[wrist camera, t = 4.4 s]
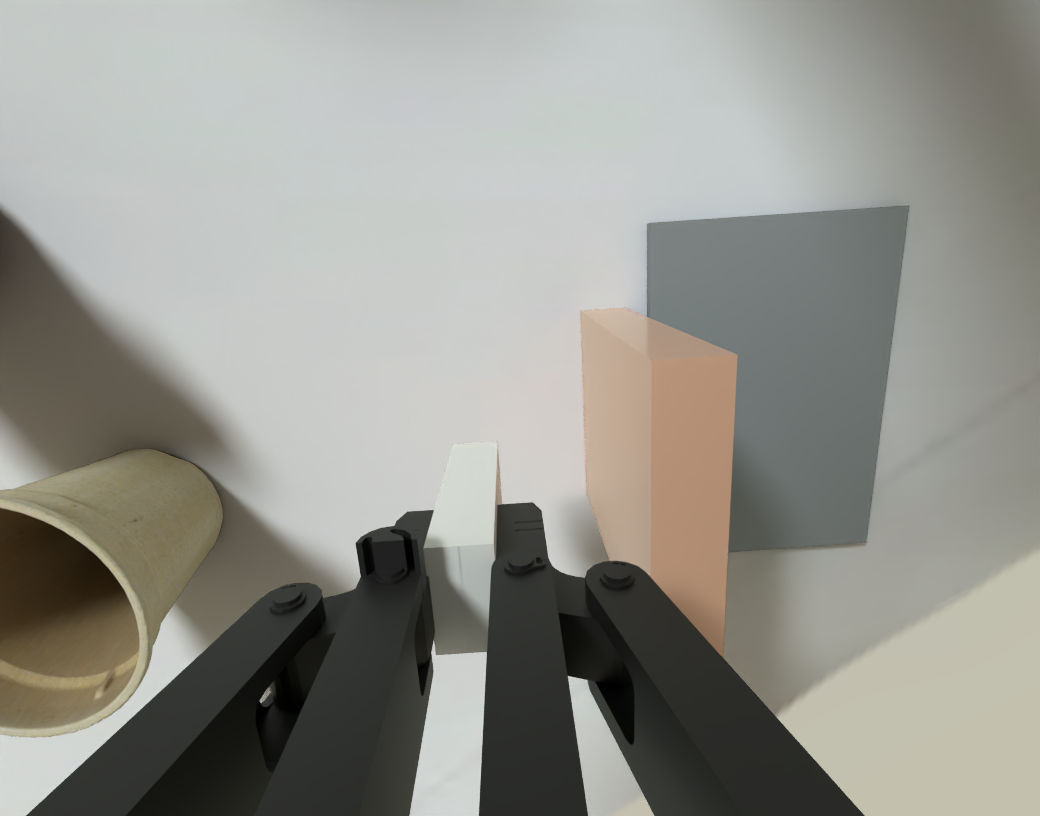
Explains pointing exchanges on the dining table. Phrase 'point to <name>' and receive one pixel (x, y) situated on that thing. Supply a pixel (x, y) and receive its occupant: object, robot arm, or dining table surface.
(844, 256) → the mat
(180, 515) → the flower pot
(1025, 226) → the dining table surface
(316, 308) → the dining table surface
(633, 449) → the tile
